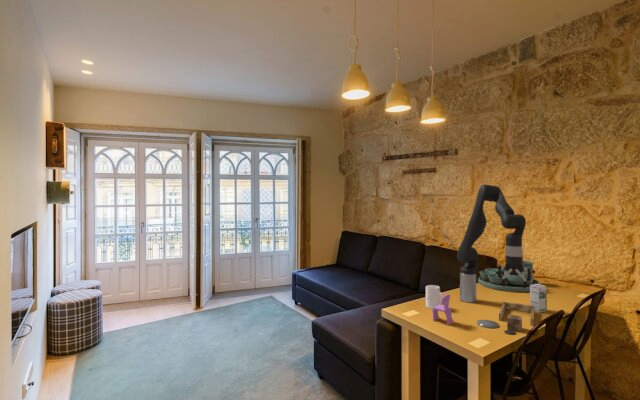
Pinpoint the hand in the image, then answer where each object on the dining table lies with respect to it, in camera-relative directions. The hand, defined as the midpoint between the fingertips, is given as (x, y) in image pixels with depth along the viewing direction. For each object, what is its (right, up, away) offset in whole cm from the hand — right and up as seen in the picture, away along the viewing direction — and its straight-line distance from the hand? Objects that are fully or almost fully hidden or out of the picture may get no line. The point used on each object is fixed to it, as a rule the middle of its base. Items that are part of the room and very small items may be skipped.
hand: (514, 287), depth 171 cm
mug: (-28, -20, +32) cm, 48 cm away
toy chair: (-32, -21, +11) cm, 39 cm away
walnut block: (0, -20, -1) cm, 20 cm away
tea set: (+40, -19, +79) cm, 91 cm away
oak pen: (+11, -20, +16) cm, 28 cm away
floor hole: (-5, -20, -6) cm, 22 cm away
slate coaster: (-11, -20, +5) cm, 24 cm away
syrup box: (+27, -20, +24) cm, 42 cm away
